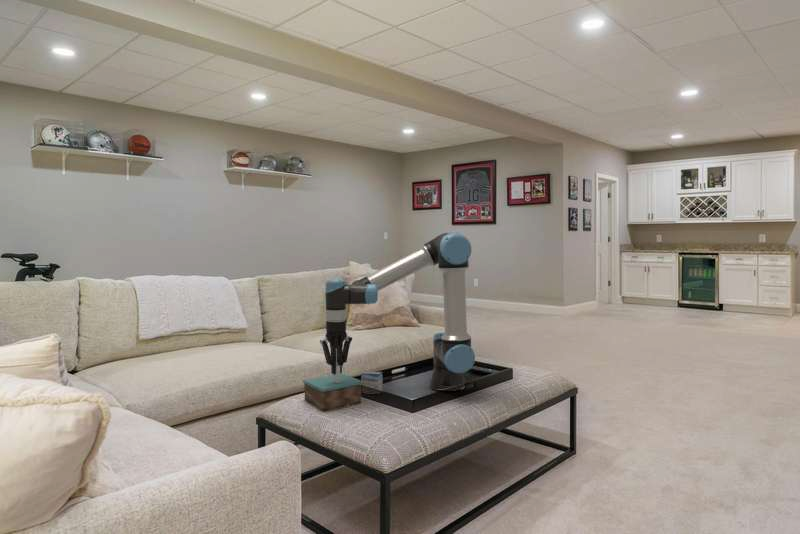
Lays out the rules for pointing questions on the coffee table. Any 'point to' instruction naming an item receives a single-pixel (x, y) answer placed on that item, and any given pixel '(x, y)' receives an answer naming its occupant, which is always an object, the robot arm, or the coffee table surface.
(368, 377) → the medicine box
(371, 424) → the coffee table surface
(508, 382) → the coffee table surface
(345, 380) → the lid
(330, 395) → the crate
